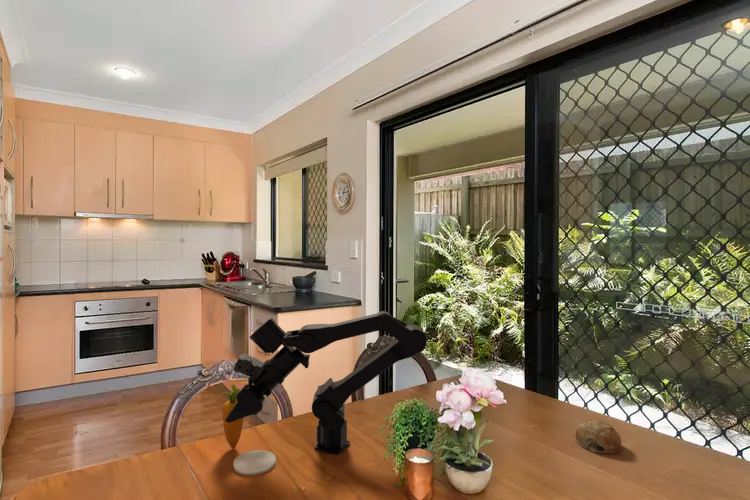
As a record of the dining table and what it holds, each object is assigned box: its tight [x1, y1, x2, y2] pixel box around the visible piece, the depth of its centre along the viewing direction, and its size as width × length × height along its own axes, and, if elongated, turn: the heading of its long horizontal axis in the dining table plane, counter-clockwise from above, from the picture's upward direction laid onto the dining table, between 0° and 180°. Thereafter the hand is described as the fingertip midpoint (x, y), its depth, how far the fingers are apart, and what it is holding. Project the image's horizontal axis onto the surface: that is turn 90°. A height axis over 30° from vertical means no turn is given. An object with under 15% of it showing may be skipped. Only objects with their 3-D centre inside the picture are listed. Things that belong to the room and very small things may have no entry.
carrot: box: [222, 384, 244, 450], centre depth 105 cm, size 5×5×15 cm
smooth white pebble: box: [232, 449, 277, 476], centre depth 98 cm, size 9×9×1 cm
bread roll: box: [575, 418, 622, 455], centre depth 108 cm, size 10×10×8 cm
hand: (232, 413), depth 105 cm, fingers open, 9 cm apart
